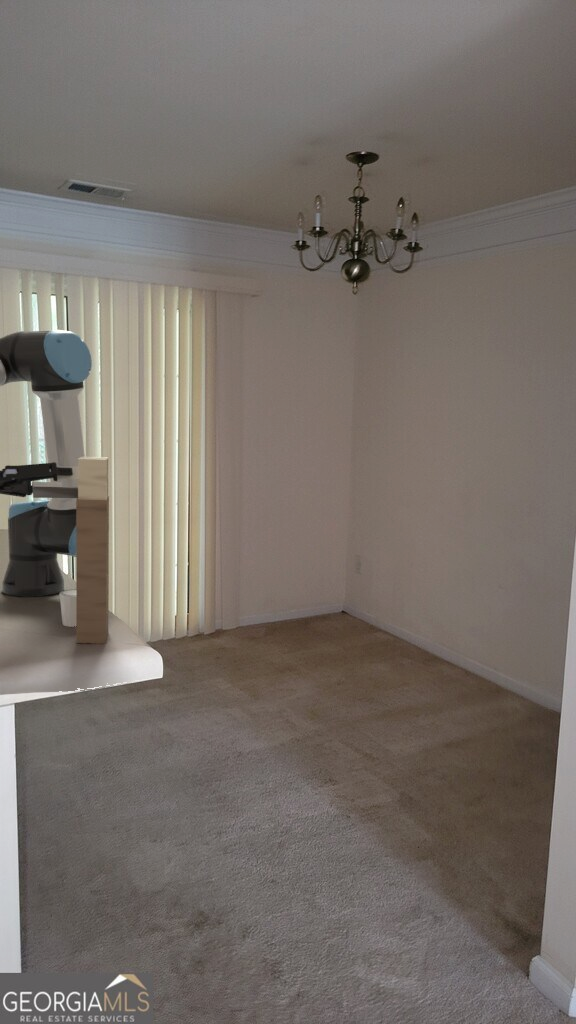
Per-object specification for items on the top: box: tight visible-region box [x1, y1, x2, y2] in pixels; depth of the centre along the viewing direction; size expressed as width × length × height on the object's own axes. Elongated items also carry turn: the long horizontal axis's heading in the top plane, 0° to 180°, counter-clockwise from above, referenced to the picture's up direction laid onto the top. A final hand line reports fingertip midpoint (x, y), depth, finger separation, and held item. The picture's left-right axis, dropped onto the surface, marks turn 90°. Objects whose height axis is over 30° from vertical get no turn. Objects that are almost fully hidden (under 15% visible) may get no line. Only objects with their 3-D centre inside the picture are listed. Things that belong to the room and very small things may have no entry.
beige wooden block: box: [32, 456, 109, 500], centre depth 153 cm, size 7×14×8 cm, turn 100°
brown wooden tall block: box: [75, 495, 110, 644], centre depth 156 cm, size 8×6×29 cm
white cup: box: [59, 588, 77, 628], centre depth 168 cm, size 7×7×7 cm
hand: (73, 481), depth 168 cm, fingers open, 13 cm apart
